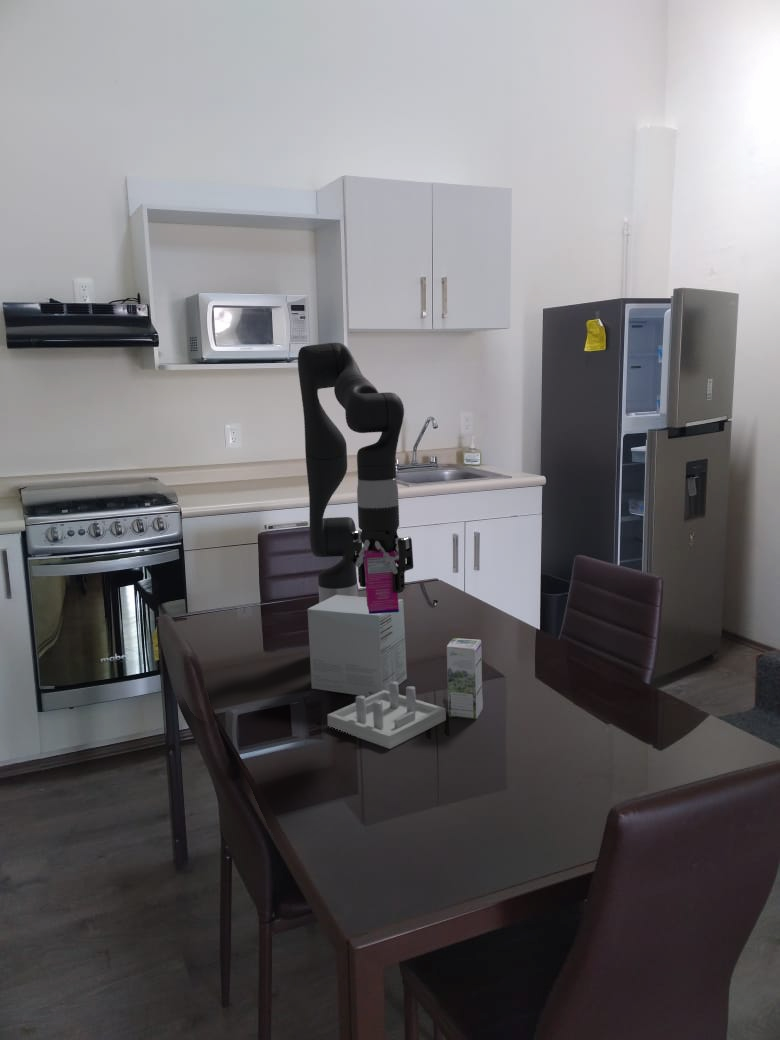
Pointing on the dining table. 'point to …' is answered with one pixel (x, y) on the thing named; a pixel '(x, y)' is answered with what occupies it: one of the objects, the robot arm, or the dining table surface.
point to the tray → (387, 717)
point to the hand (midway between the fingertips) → (381, 589)
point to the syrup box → (464, 678)
